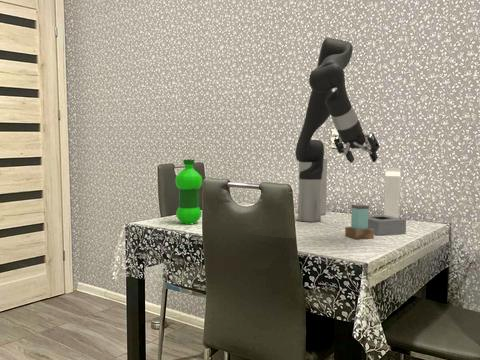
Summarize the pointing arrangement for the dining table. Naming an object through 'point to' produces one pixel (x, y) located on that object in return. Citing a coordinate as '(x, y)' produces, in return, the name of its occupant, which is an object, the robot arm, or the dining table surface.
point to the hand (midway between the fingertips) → (363, 160)
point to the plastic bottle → (188, 193)
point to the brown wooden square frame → (359, 233)
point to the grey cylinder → (324, 182)
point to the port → (386, 225)
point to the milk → (392, 192)
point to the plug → (359, 217)
